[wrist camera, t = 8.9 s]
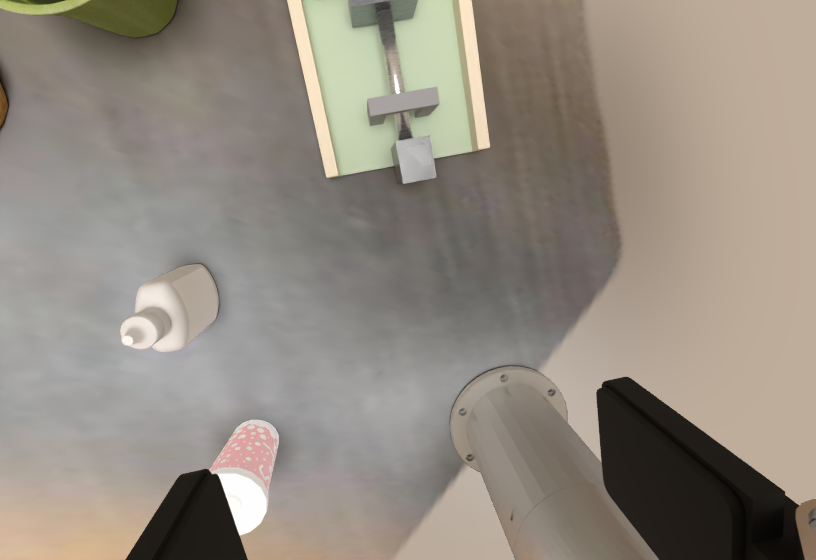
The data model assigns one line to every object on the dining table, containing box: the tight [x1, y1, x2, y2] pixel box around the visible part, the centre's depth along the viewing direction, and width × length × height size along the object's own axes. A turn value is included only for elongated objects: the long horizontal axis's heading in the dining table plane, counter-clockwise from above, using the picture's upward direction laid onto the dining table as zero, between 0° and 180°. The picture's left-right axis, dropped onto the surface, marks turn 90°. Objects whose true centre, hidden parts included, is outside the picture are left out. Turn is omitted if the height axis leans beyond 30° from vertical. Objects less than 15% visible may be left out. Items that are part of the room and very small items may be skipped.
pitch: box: [287, 0, 490, 178], centre depth 31 cm, size 20×14×8 cm
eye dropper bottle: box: [120, 264, 219, 352], centre depth 33 cm, size 4×6×12 cm
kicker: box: [348, 0, 437, 184], centre depth 32 cm, size 14×5×6 cm, turn 10°
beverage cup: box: [209, 420, 279, 535], centre depth 36 cm, size 6×6×14 cm
